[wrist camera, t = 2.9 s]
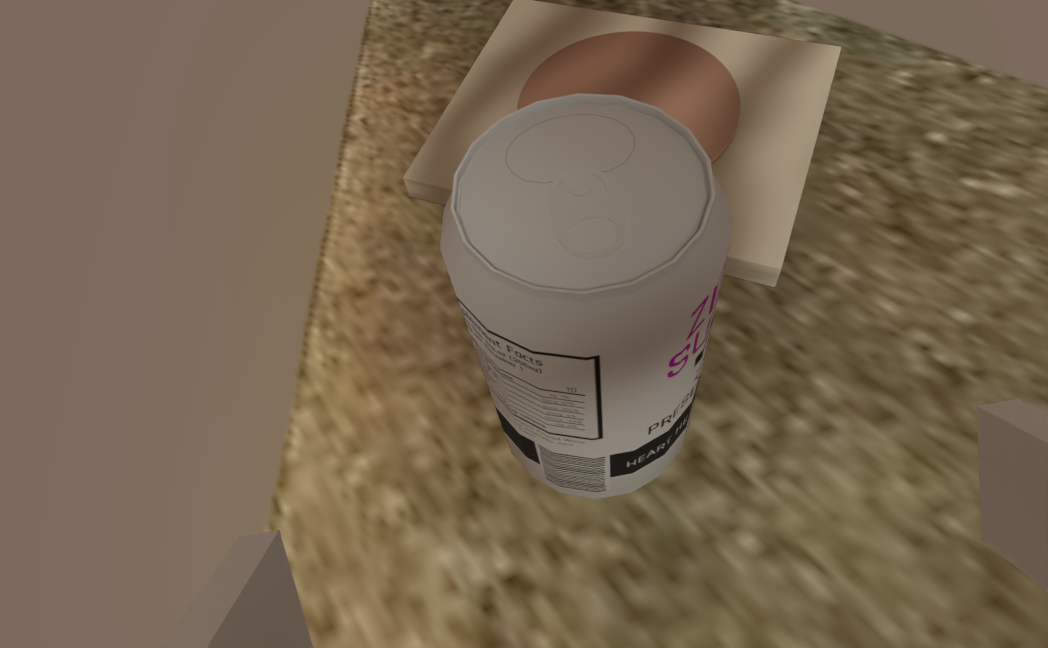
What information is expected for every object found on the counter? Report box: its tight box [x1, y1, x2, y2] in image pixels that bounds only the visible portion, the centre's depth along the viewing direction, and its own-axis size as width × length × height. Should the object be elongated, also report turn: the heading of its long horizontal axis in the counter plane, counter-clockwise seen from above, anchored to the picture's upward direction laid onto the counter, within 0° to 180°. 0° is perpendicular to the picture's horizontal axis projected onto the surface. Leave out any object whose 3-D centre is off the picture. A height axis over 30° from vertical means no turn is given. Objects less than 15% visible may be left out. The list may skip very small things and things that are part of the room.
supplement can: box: [440, 93, 732, 499], centre depth 25 cm, size 8×8×15 cm
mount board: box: [403, 0, 841, 287], centre depth 39 cm, size 20×16×2 cm
